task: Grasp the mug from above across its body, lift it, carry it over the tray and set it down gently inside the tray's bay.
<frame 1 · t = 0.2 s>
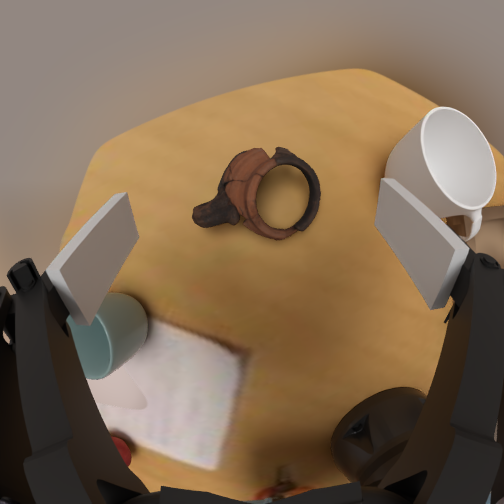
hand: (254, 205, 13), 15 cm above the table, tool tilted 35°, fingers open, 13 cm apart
tray: (494, 273, 26), on the table
mug: (409, 196, 28), on the table
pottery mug: (255, 200, 29), on the table
onion: (123, 440, 31), on the table
cup: (129, 318, 30), on the table
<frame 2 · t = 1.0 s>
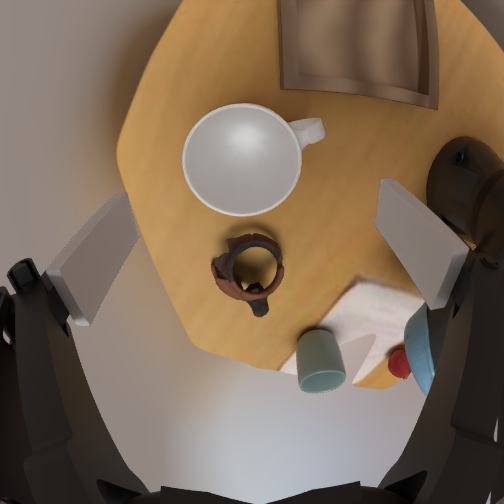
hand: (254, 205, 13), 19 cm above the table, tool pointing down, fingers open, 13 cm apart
tray: (357, 25, 21), on the table
mug: (258, 132, 29), on the table
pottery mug: (248, 262, 39), on the table
onion: (395, 349, 52), on the table
cup: (314, 336, 48), on the table
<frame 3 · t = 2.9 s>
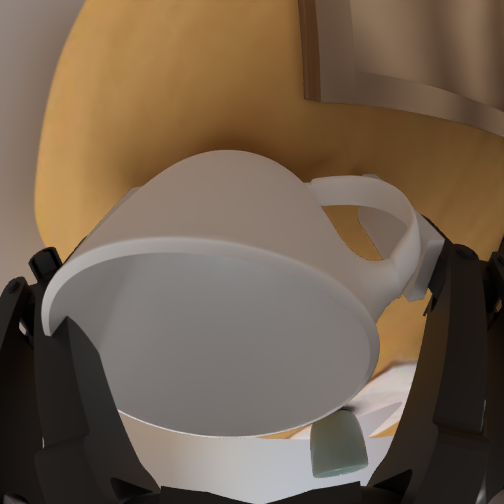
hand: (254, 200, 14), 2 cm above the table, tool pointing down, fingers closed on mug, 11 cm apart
mug: (251, 189, 16), on the table, touching gripper
cup: (332, 413, 35), on the table
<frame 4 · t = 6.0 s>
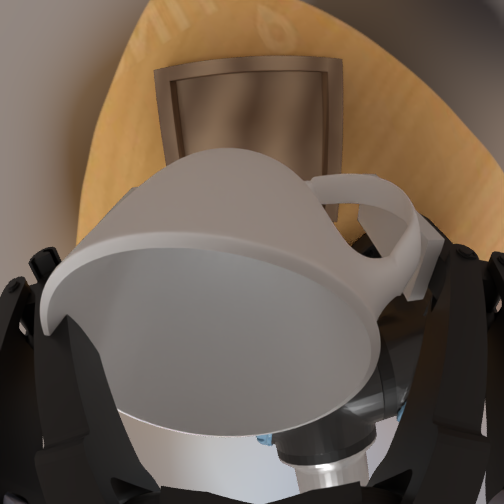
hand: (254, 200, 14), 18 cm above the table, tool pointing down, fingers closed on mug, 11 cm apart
tray: (252, 138, 28), on the table
mug: (250, 188, 16), point 15 cm above the table, touching gripper
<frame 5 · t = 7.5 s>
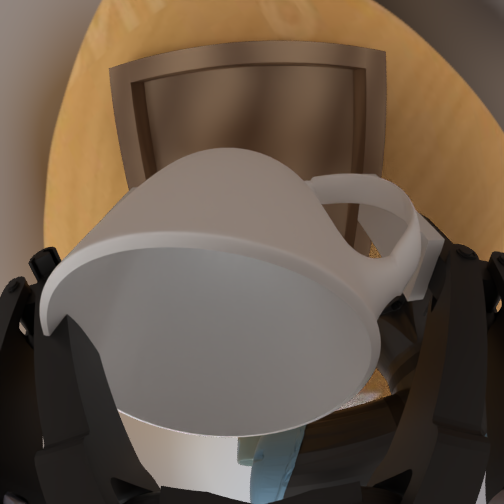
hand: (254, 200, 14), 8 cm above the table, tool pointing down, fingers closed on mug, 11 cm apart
tray: (254, 161, 21), on the table
mug: (250, 188, 16), point 6 cm above the table, touching gripper
cup: (257, 418, 48), on the table
when the fingers open (5 cm above the table, at t = 8.8 s): mug drops 2 cm, resting on tray.
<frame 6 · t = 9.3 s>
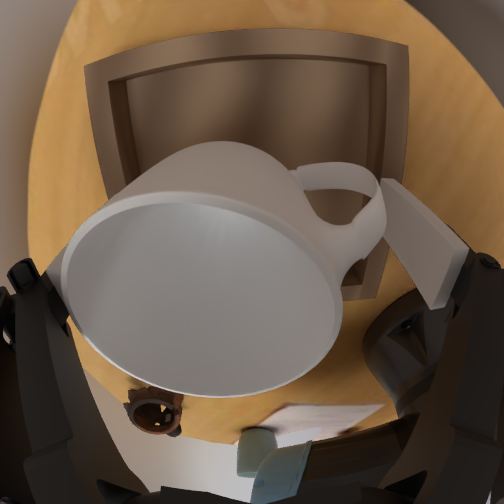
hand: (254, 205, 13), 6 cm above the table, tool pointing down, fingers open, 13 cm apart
tray: (253, 170, 18), on the table
mug: (245, 179, 17), point 1 cm above the table, touching tray
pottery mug: (160, 392, 37), on the table
cup: (257, 430, 46), on the table
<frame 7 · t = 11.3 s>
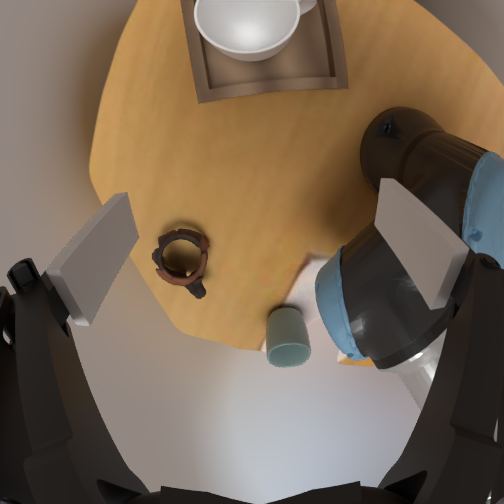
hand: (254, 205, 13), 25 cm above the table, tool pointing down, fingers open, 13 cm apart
tray: (262, 29, 26), on the table
mug: (258, 30, 25), point 1 cm above the table, touching tray
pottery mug: (187, 253, 45), on the table
cup: (284, 314, 53), on the table
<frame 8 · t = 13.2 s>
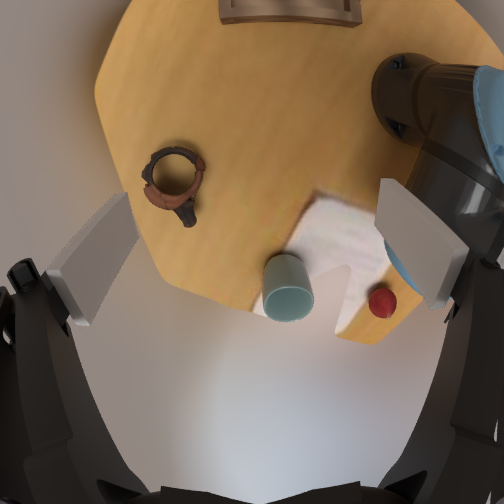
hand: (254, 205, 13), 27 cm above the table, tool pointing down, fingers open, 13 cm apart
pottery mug: (179, 180, 40), on the table
onion: (376, 289, 53), on the table
cup: (282, 265, 49), on the table
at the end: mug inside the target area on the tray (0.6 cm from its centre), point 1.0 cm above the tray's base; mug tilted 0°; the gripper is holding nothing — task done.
